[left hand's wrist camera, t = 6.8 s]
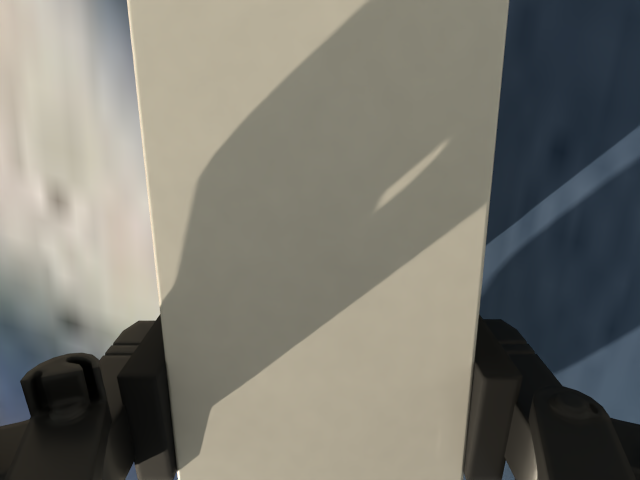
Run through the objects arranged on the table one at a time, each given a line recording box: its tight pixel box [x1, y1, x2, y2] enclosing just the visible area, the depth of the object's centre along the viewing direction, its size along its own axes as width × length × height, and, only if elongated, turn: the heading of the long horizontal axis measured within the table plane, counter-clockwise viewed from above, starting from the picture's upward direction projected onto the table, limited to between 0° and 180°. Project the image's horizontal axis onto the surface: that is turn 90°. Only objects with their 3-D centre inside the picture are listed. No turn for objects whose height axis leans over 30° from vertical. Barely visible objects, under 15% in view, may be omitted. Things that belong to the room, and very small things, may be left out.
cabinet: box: [127, 0, 509, 480], centre depth 13 cm, size 16×6×11 cm, turn 0°
